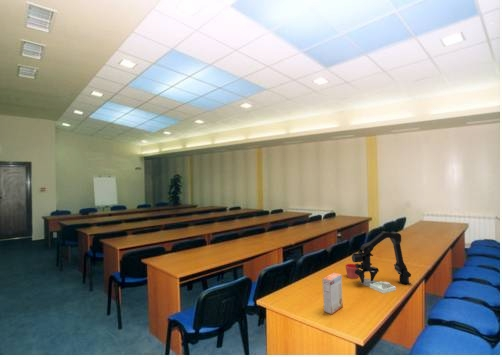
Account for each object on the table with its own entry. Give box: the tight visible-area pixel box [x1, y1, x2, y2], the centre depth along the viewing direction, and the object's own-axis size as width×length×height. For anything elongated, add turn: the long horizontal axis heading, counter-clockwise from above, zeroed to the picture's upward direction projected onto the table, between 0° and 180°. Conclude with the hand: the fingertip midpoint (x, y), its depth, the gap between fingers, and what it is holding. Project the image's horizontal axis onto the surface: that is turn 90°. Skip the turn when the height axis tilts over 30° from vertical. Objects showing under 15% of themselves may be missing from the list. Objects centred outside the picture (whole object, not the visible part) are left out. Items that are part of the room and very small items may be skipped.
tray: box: [369, 281, 397, 294], centre depth 196 cm, size 12×12×3 cm
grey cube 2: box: [362, 277, 371, 287], centre depth 204 cm, size 4×4×4 cm
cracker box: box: [321, 272, 344, 315], centre depth 168 cm, size 14×6×21 cm, turn 134°
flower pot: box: [345, 263, 359, 279], centre depth 222 cm, size 11×11×10 cm
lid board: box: [358, 278, 378, 286], centre depth 209 cm, size 14×11×1 cm
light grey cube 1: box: [382, 281, 391, 289], centre depth 195 cm, size 4×4×4 cm
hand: (367, 282), depth 204 cm, fingers open, 9 cm apart
